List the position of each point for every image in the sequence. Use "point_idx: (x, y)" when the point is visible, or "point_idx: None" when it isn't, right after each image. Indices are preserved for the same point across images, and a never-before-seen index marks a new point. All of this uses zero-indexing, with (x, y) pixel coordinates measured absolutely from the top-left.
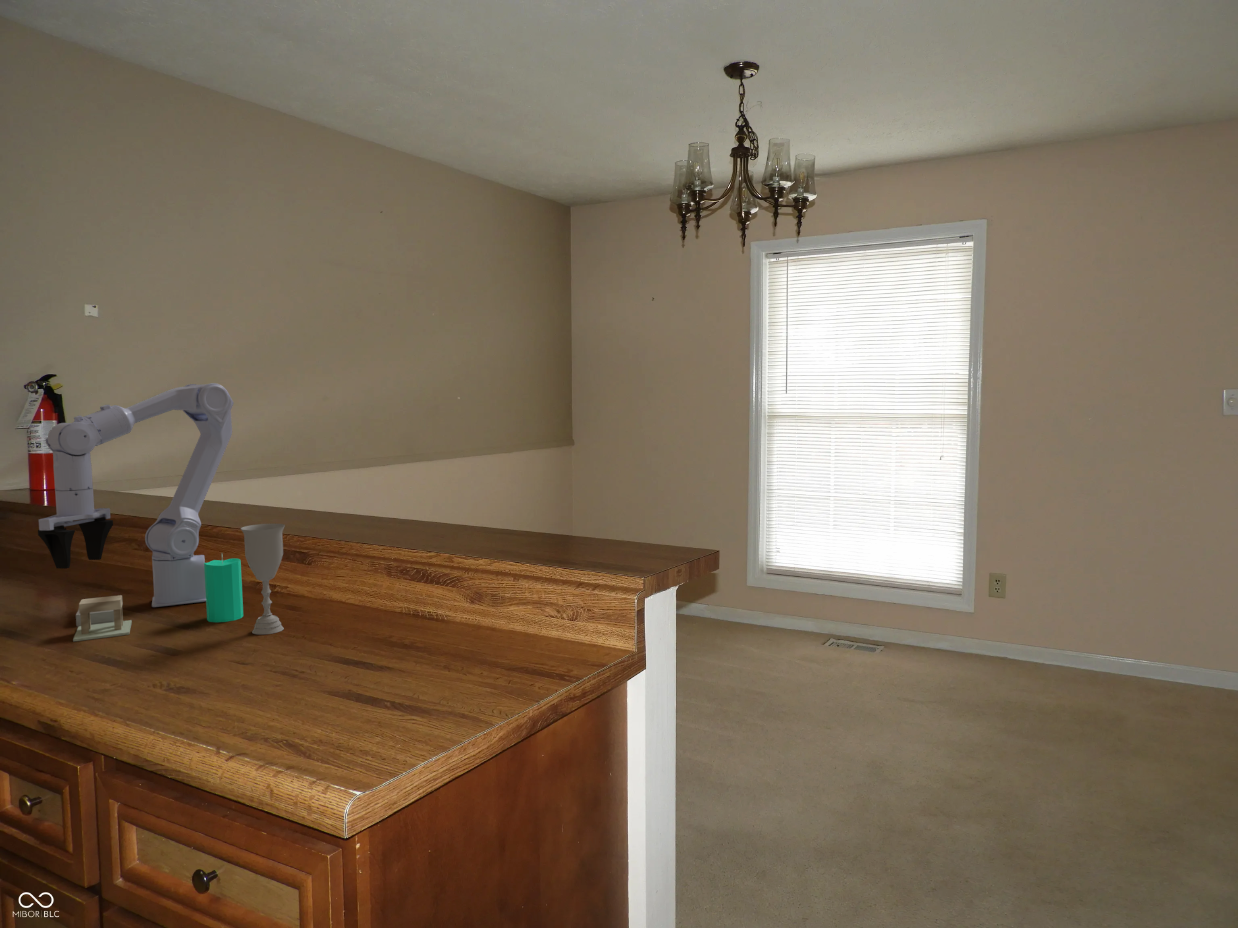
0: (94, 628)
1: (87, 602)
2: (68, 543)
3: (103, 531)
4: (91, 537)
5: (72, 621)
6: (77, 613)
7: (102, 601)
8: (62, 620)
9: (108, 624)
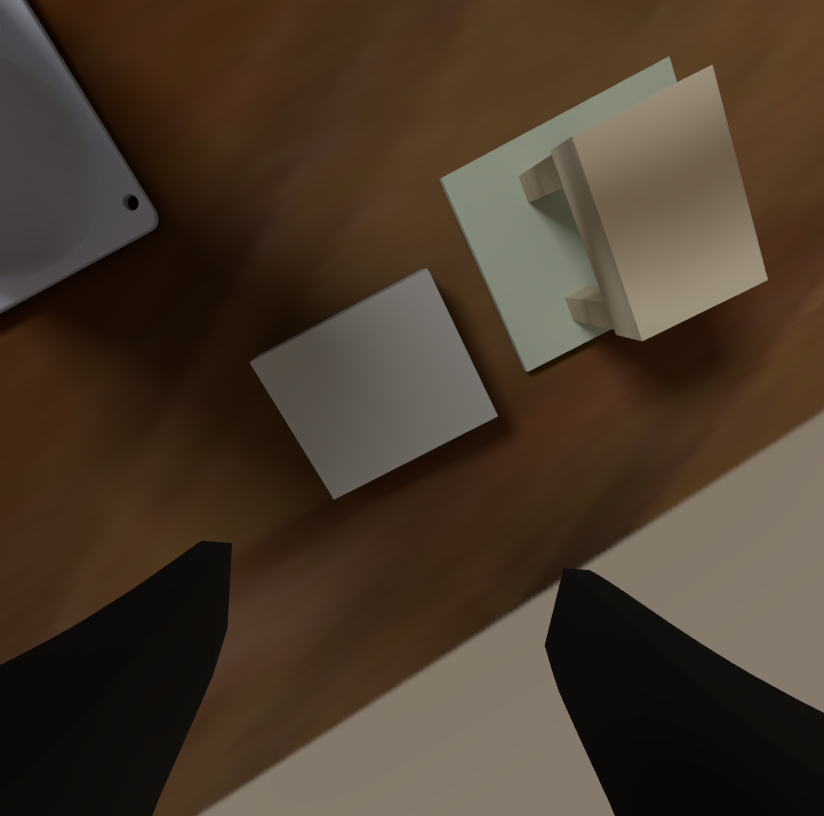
0: (574, 276)
1: (734, 253)
2: (777, 714)
3: (61, 731)
4: (121, 810)
5: (402, 469)
6: (466, 428)
7: (729, 170)
8: (383, 520)
9: (512, 250)
